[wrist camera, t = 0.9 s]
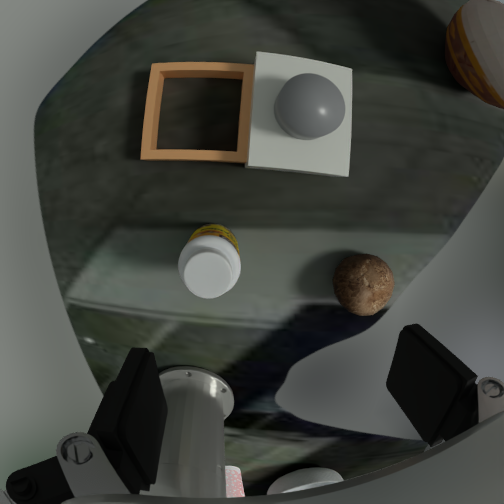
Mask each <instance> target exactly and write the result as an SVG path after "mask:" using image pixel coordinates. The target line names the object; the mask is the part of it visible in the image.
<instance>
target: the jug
mask: <svg viewBox="0 0 504 504" xmlns="http://www.w3.org/2000/svg"><path fill="white" fill-rule="evenodd" d="M445 60H446V63H447V66H448V68H449V70H450V72H451V74H452V76H453V77H454V78H455V80H456V81H457V82H458V83H459V84H460V85H461V86H463V87H464V88H465V89H467V90H468V91H469V92H471V93H472V94H474V95H475V96H477V97H478V98H480V99H481V100H483V101H484V102H486V103H488V104H490V105H493V106H496V107H499V108H502V109H504V4H502V3H501V2H499V1H496V0H470V1H469V2H467V3H466V4H464V5H463V6H462V7H460V9H459V10H458V11H457V12H456V13H455V14H454V16H453V18H452V20H451V22H450V23H449V25H448V27H447V32H446V40H445Z"/></svg>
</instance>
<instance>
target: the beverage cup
mask: <svg viewBox="0 0 504 504" xmlns="http://www.w3.org/2000/svg"><path fill="white" fill-rule="evenodd" d="M225 474H226V495H227V498H230V497H245V495H244V489H243V484H242V478H241V472H240V469H239V468H237V467H235V466H225Z"/></svg>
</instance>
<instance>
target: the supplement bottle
mask: <svg viewBox="0 0 504 504" xmlns="http://www.w3.org/2000/svg"><path fill="white" fill-rule="evenodd" d="M178 270H179V274H180V277H181V279H182V281H183V283H184V284H185V285H186V286H187V288H188V289H189V290H190V291H191V292H192V293H193V294H195V295H196V296H198V297H201V298H208V299H209V298H215V297H218V296H220V295H222V294H223V293H225V292H227V291H228V290H230V289H231V288H232V287H233V286H234V285H235V283H236V282H237V280H238V278H239V275H240V270H241V263H240V256H239V250H238V244H237V240H236V238H235V236H234V234H233V233H232V232H231V231H230V230H229V229H228V228H226V227H225V226H223V225H220V224H206V225H203V226H201V227H199V228H198V229H197V230H196V231H195V232H194V233H193V234H192V235H191V237H190V239H189V240H188V242H187V244H186V245H185V247H184V248H183V250H182V251H181V254H180V257H179V261H178Z"/></svg>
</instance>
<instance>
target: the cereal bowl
mask: <svg viewBox="0 0 504 504" xmlns="http://www.w3.org/2000/svg"><path fill="white" fill-rule="evenodd" d="M341 481H344V480H343V478H342V477H341V476H340V475H339V474H338V473H337V472H336V471H334V470H332V469H327V468H318V467H317V468H304V469H300V470H296V471H293V472H291V473H288V474H286V475H284V476H282V477H280V478H279V479H277V480H276V481H275V482H274V483H273V484H272V485H271V486H270V488H269V489H268V492H267V495H271V494H279V493H286V492H293V491H299V490H304V489H310V488H315V487H319V486H324V485H328V484H333V483H337V482H341Z"/></svg>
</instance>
